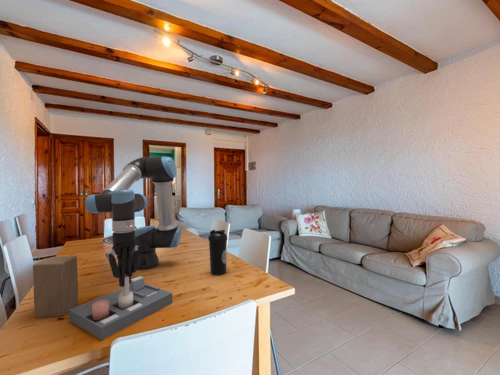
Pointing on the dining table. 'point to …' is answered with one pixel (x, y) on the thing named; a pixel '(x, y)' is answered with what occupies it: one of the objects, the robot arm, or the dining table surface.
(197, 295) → the dining table surface
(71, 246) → the dining table surface
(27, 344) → the dining table surface
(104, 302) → the button coral
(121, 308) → the button ivory
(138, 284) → the slider knob
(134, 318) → the console
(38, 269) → the wooden block
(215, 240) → the water bottle
